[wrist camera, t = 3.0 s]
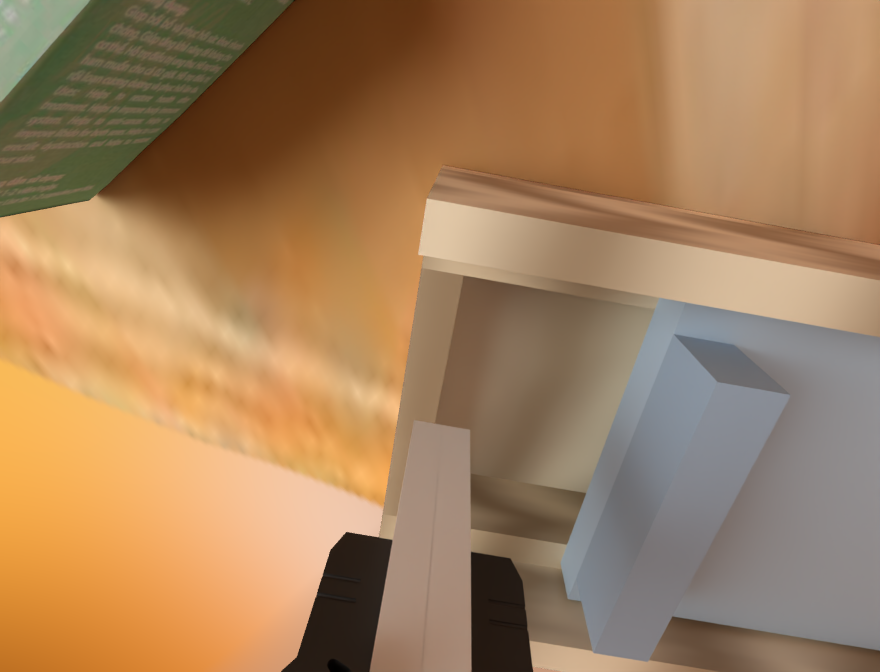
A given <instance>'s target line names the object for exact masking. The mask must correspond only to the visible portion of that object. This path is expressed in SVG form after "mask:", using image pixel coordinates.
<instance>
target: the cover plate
mask: <svg viewBox="0 0 880 672" xmlns="http://www.w3.org/2000/svg"><path fill="white" fill-rule="evenodd" d="M561 568H562V573H563V578H564V583H565V588H566V593H567V597H568V599H570V600H576V601H581V602H582V607H583V611H584V615H585V620H586V624H587V628H588V633H589V637H590V641H591V646H592V650H593V653H596V654H602V655H608V656H614V657H621V658H627V659H633V660H639V661H645V662H648V661H649V659H650V657H651V655H652V653H653V652H654V650H655V648H656V646H657V644H658V642H659V640H660V639H661V637H662V635H663V633H664V631H665V629H666V627H667V625H668V624H669V622H670V620H671V618H672V616H673V617H679V618H686V619H692V620H698V621H704V622H710V623H716V624H722V625H728V626H734V627H740V628H746V629H752V630H758V631H764V632H770V633H777V634H783V635H789V636H795V637H801V638H807V639H813V640H819V641H825V642H831V643H837V644H843V645H849V646H855V647H861V648H868V649H874V650H880V337H877V336H871V335H865V334H860V333H854V332H849V331H843V330H837V329H832V328H826V327H821V326H815V325H809V324H804V323H798V322H793V321H787V320H782V319H776V318H770V317H765V316H759V315H754V314H748V313H742V312H737V311H731V310H726V309H720V308H714V307H709V306H703V305H698V304H692V303H686V302H681V301H675V300H670V299H664V298H659V300H658V303H657V305H656V308H655V311H654V313H653V316H652V319H651V321H650V324H649V327H648V329H647V332H646V335H645V338H644V340H643V343H642V346H641V348H640V351H639V354H638V356H637V359H636V362H635V364H634V367H633V370H632V372H631V375H630V378H629V380H628V383H627V386H626V388H625V391H624V394H623V396H622V399H621V402H620V404H619V407H618V410H617V413H616V415H615V418H614V421H613V423H612V426H611V429H610V431H609V434H608V437H607V439H606V442H605V445H604V447H603V450H602V453H601V455H600V458H599V461H598V463H597V466H596V469H595V471H594V474H593V477H592V480H591V482H590V485H589V488H588V490H587V493H586V496H585V498H584V501H583V504H582V506H581V509H580V512H579V514H578V517H577V520H576V522H575V525H574V528H573V530H572V533H571V536H570V538H569V541H568V544H567V546H566V549H565V552H564V555H563V557H562V560H561Z"/></svg>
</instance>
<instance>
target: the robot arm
mask: <svg viewBox="0 0 880 672" xmlns="http://www.w3.org/2000/svg"><path fill="white" fill-rule="evenodd" d="M527 626H528V624H527V615H526V610H525V598H524V589H523V581H522V579H521V577H520V575H519V573H518V571H517V569H516V568H515V566H514V564H513V562H512V560H511V558H506V557H500V556H494V555H488V554H482V553H476V552H471V504H470V430H469V429H463V428H457V427H451V426H446V425H440V424H434V423H428V422H423V421H417V420H414V423H413V429H412V434H411V440H410V445H409V451H408V456H407V462H406V468H405V473H404V479H403V484H402V490H401V496H400V501H399V507H398V512H397V518H396V524H395V529H394V535H393V540H390V539H384V538H379V537H372V536H367V535H361V534H355V533H349V532H346V533H345V534H344V535H343V537H342V538H341V539H340V540H339V541H338V542H337V543H336V544H335V546H334V547H333V548H332V549H331V551H330V554H329V557H328V560H327V563H326V567H325V569H324V573H323V577H322V579H321V582H320V585H319V589H318V592H317V596H316V598H315V601H314V605H313V608H312V611H311V614H310V617H309V621H308V624H307V627H306V630H305V633H304V636H303V639H302V643H301V646H300V649H299V652H298V656H297V658H295V659H294V660H293V661H292V662H291V663H290V664H289V665H288V666H287V667H286V668H284V669H283V670H282V671H281V672H533V668H532V658H531V650H530V641H529V632H528V631H527Z"/></svg>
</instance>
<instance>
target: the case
mask: <svg viewBox="0 0 880 672" xmlns="http://www.w3.org/2000/svg"><path fill="white" fill-rule="evenodd" d="M418 255H423V256H424V257H423V263H422V269H421V276H420V282H419V288H418V295H417V301H416V307H415V313H414V320H413V326H412V332H411V339H410V345H409V351H408V358H407V364H406V370H405V376H404V383H403V389H402V395H401V402H400V408H399V414H398V421H397V427H396V433H395V439H394V446H393V452H392V458H391V465H390V471H389V477H388V484H387V490H386V496H385V502H384V509H383V515H382V521H381V529H380V534H379V538H384V539H390V540H393V535H394V529H395V524H396V518H397V512H398V507H399V501H400V496H401V490H402V484H403V479H404V473H405V468H406V462H407V456H408V451H409V445H410V440H411V434H412V429H413V423H414V420H417V421H423V422H428V423H434V424H440V425H446V426H451V427H457V428H463V429H469V430H470V504H471V552H476V553H482V554H488V555H494V556H500V557H506V558H511V560H512V562H513V564H514V566H515V568H516V569H517V571H518V573H519V575H520V577H521V579H522V581H523V589H524V598H525V610H526V615H527V624H528V626H527V631H528V632H529V641H530V650H531V658H532V667H538V668H544V669H550V670H556V671H562V672H880V650H874V649H868V648H861V647H855V646H849V645H843V644H837V643H831V642H825V641H819V640H813V639H807V638H801V637H795V636H789V635H783V634H777V633H770V632H764V631H758V630H752V629H746V628H740V627H734V626H728V625H722V624H716V623H710V622H704V621H698V620H692V619H686V618H679V617H673V616H672V618H671V620H670V622H669V624H668V625H667V627H666V629H665V631H664V633H663V635H662V637H661V639H660V640H659V642H658V644H657V646H656V648H655V650H654V652H653V653H652V655H651V657H650V659H649V661H648V662H645V661H639V660H633V659H627V658H621V657H614V656H608V655H602V654H596V653H593V650H592V646H591V641H590V637H589V633H588V628H587V624H586V620H585V615H584V611H583V607H582V602H581V601H576V600H570V599H568V597H567V593H566V588H565V583H564V578H563V573H562V568H561V560H562V557H563V555H564V552H565V549H566V546H567V544H568V541H569V538H570V536H571V533H572V530H573V528H574V525H575V522H576V520H577V517H578V514H579V512H580V509H581V506H582V504H583V501H584V498H585V496H586V493H587V490H588V488H589V485H590V482H591V480H592V477H593V474H594V471H595V469H596V466H597V463H598V461H599V458H600V455H601V453H602V450H603V447H604V445H605V442H606V439H607V437H608V434H609V431H610V429H611V426H612V423H613V421H614V418H615V415H616V413H617V410H618V407H619V404H620V402H621V399H622V396H623V394H624V391H625V388H626V386H627V383H628V380H629V378H630V375H631V372H632V370H633V367H634V364H635V362H636V359H637V356H638V354H639V351H640V348H641V346H642V343H643V340H644V338H645V335H646V332H647V329H648V327H649V324H650V321H651V319H652V316H653V313H654V311H655V308H656V305H657V303H658V300H659V298H664V299H670V300H675V301H681V302H686V303H692V304H698V305H703V306H709V307H714V308H720V309H726V310H731V311H737V312H742V313H748V314H754V315H759V316H765V317H770V318H776V319H782V320H787V321H793V322H798V323H804V324H809V325H815V326H821V327H826V328H832V329H837V330H843V331H849V332H854V333H860V334H865V335H871V336H877V337H880V245H877V244H872V243H866V242H861V241H855V240H850V239H844V238H839V237H833V236H828V235H822V234H817V233H811V232H806V231H801V230H795V229H790V228H784V227H779V226H773V225H768V224H762V223H757V222H751V221H746V220H740V219H735V218H729V217H724V216H718V215H713V214H707V213H702V212H697V211H691V210H686V209H680V208H675V207H669V206H664V205H658V204H653V203H647V202H642V201H636V200H631V199H625V198H620V197H614V196H609V195H604V194H598V193H593V192H587V191H582V190H576V189H571V188H565V187H560V186H554V185H549V184H543V183H538V182H532V181H527V180H521V179H516V178H511V177H505V176H500V175H494V174H489V173H483V172H478V171H472V170H467V169H461V168H456V167H450V166H445V165H443V166H442V168H441V170H440V172H439V174H438V176H437V178H436V180H435V183H434V185H433V187H432V189H431V191H430V193H429V195H428V197H427V201H426V208H425V214H424V221H423V227H422V234H421V240H420V247H419V253H418Z"/></svg>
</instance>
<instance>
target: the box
mask: <svg viewBox="0 0 880 672" xmlns="http://www.w3.org/2000/svg"><path fill="white" fill-rule="evenodd" d="M293 1H294V0H0V217H5V216H10V215H16V214H21V213H26V212H31V211H36V210H41V209H47V208H52V207H57V206H62V205H67V204H72V203H78V202H83V201H89V200H90V199H91V198H93V197H94V196H95V195H96V194H97V193H99V192H100V191H101V190H102V189H103V188H105V187H106V186H107V185H108V184H109V183H110V182H111V181H112V180H113V179H114V178H115V177H116V176H117V175H118V174H119V173H120V172H121V171H122V170H123V169H124V168H125V167H126V166H127V165H128V164H129V163H130V162H131V161H133V160H134V159H135V158H136V157H137V156H138V155H139V154H140V153H141V152H142V151H143V150H144V149H145V148H146V147H147V146H148V145H149V144H150V143H151V142H153V141H154V140H155V139H156V138H157V137H158V136H159V135H160V134H161V133H162V132H163V131H164V130H166V129H167V128H168V127H169V126H170V125H171V124H172V123H173V122H174V121H175V120H176V119H177V118H178V117H180V116H181V115H182V114H183V113H184V112H185V111H186V110H187V109H188V108H189V107H190V105H191V104H192V103H193V102H194V101H195V100H196V99H197V98H198V97H199V96H200V95H201V94H202V93H203V92H204V91H205V90H206V89H207V88H208V87H209V86H210V85H211V84H212V83H213V82H214V81H215V80H216V79H217V78H218V77H219V76H220V75H221V74H222V73H223V72H224V71H225V70H226V69H227V68H228V67H229V66H230V65H231V64H232V63H233V62H234V61H235V60H236V59H237V58H238V57H239V56H240V55H241V54H242V53H243V52H244V51H245V50H246V49H247V48H248V47H249V46H250V45H251V44H252V43H253V42H254V41H255V40H256V39H257V38H258V37H259V36H260V35H261V34H262V33H263V32H264V31H265V30H266V29H267V28H268V27H269V26H270V25H271V24H272V23H273V22H274V21H275V20H276V19H277V18H278V17H279V16H280V15H281V14H282V13H283V12H284V11H285V10H286V8H287V7H288V6H289V5H290V4H291V3H292V2H293Z"/></svg>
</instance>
